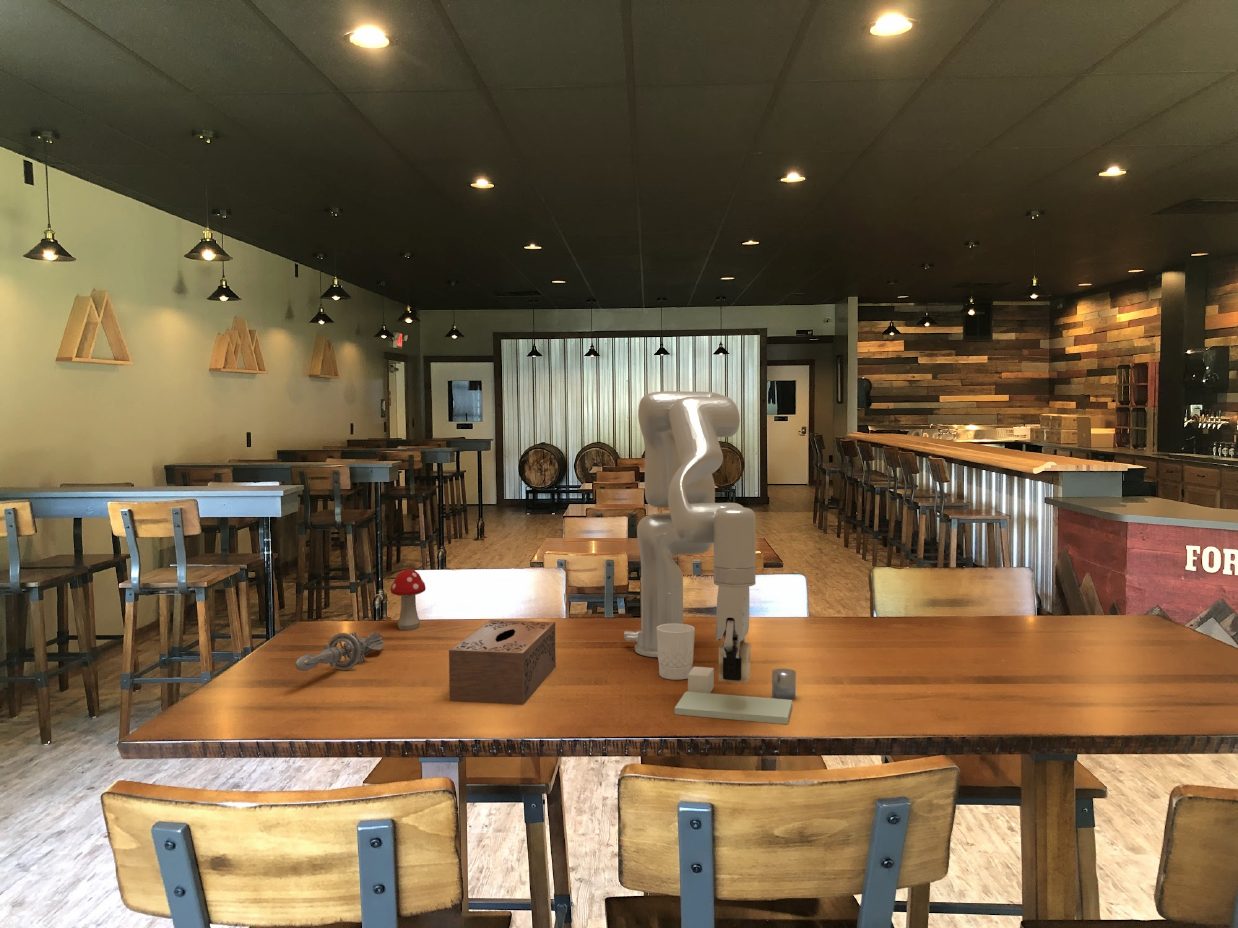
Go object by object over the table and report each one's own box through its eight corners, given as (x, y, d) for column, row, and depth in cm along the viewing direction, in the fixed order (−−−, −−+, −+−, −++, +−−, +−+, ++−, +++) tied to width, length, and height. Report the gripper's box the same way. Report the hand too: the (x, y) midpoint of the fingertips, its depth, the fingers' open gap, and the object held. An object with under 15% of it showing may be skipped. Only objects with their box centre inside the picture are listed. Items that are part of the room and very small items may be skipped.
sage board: (674, 714, 160) (674, 707, 160) (685, 697, 169) (685, 691, 169) (787, 724, 154) (787, 717, 154) (792, 706, 164) (792, 699, 164)
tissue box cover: (490, 665, 193) (490, 619, 193) (555, 668, 191) (555, 622, 191) (449, 702, 168) (448, 650, 167) (523, 706, 166) (523, 653, 165)
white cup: (698, 671, 187) (698, 624, 186) (689, 682, 179) (689, 633, 179) (662, 668, 189) (662, 622, 189) (651, 678, 182) (651, 630, 181)
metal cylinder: (770, 700, 168) (771, 673, 168) (773, 693, 172) (773, 667, 172) (794, 702, 167) (794, 675, 166) (796, 695, 171) (796, 669, 171)
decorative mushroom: (400, 622, 233) (399, 565, 232) (431, 623, 232) (430, 566, 231) (385, 631, 223) (384, 572, 223) (417, 632, 222) (417, 573, 221)
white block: (687, 695, 171) (687, 674, 171) (693, 686, 177) (693, 666, 177) (708, 696, 170) (708, 676, 170) (713, 687, 176) (713, 667, 176)
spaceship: (273, 652, 173) (307, 638, 172) (361, 629, 207) (390, 618, 206) (285, 691, 172) (320, 678, 171) (371, 662, 206) (401, 650, 205)
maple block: (718, 680, 160) (718, 647, 159) (723, 673, 165) (723, 641, 164) (746, 682, 158) (746, 649, 158) (750, 675, 163) (750, 642, 163)
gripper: (721, 567, 170) (721, 661, 171) (705, 582, 153) (705, 686, 154) (761, 569, 168) (760, 664, 169) (749, 584, 151) (749, 690, 152)
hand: (734, 674), depth 161 cm, fingers closed on maple block, 4 cm apart
